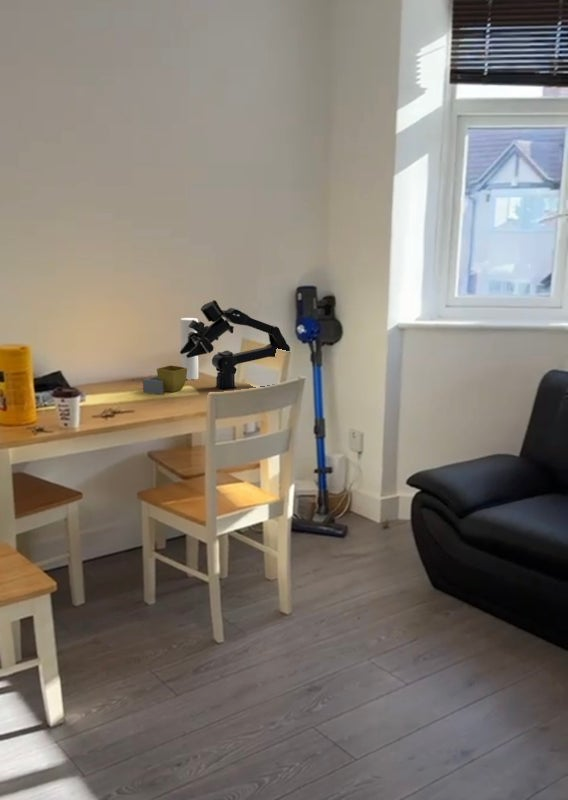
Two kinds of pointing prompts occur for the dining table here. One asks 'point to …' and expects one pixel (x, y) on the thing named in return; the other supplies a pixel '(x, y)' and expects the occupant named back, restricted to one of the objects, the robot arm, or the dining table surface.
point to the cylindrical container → (192, 361)
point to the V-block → (153, 385)
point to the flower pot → (172, 377)
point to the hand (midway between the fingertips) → (183, 355)
